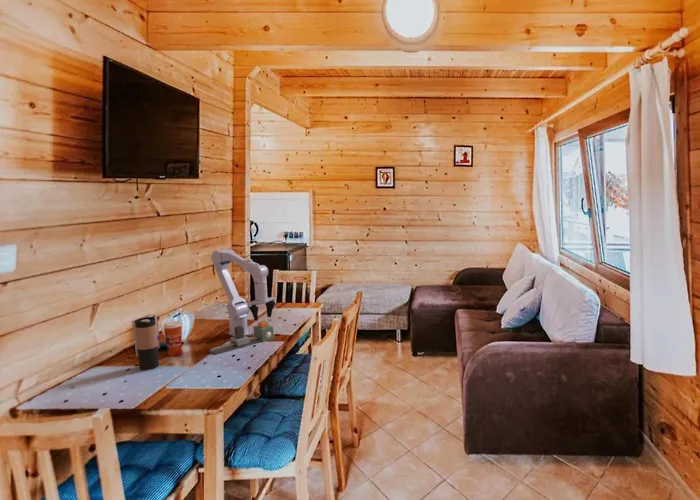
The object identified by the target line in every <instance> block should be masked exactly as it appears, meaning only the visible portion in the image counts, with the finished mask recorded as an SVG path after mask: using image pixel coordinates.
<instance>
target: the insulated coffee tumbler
mask: <svg viewBox="0 0 700 500" xmlns="http://www.w3.org/2000/svg"><path fill="white" fill-rule="evenodd" d="M145 317H154V318H155V322H156V332H157V342H158V349H159V348H161V340H160V330H159V321H158V315H157V314H148V315H147V314H146V315H145V316H142V317H140V318H145ZM140 318H138V319H140ZM131 323H132V331H133V340H134V342H133V343H134V350H135V357H136V358H138V351H137V341H136V328H135V320H133V321H131Z"/></svg>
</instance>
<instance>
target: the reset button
mask: <svg viewBox="0 0 700 500" xmlns="http://www.w3.org/2000/svg"><path fill="white" fill-rule="evenodd" d="M257 325H258V327H260V328H265V327H268V325H269V321H267V320H261V321H258V322H257Z"/></svg>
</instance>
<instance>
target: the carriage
mask: <svg viewBox="0 0 700 500" xmlns="http://www.w3.org/2000/svg"><path fill="white" fill-rule="evenodd" d="M234 328H235V336H232V337H229V340H230V341H229V342H230V343H233V342H236V343H237V346H240V345H243V344H247V343H250V339H249V338H250V337H249V336H247V335H245V336H244V327H242V326H238V327H234Z"/></svg>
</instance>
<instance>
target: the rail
mask: <svg viewBox="0 0 700 500" xmlns="http://www.w3.org/2000/svg"><path fill="white" fill-rule="evenodd" d="M249 339H250V343H247V344H243V345H240V346H237V343H236V342H233V343H226V344H222V345H219V346H215V347H212V348H210V349H208V353H210V354H213V355H215V356H217V355H219V354H220V355H221V354H223V353H227V352H230V351H233V350H237V349H240V348H243V347H246V346H250V345H255V344H257V343H260V342H261V341H260V340H258V337H257V336H254V335H253V336H250V337H249Z"/></svg>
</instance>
